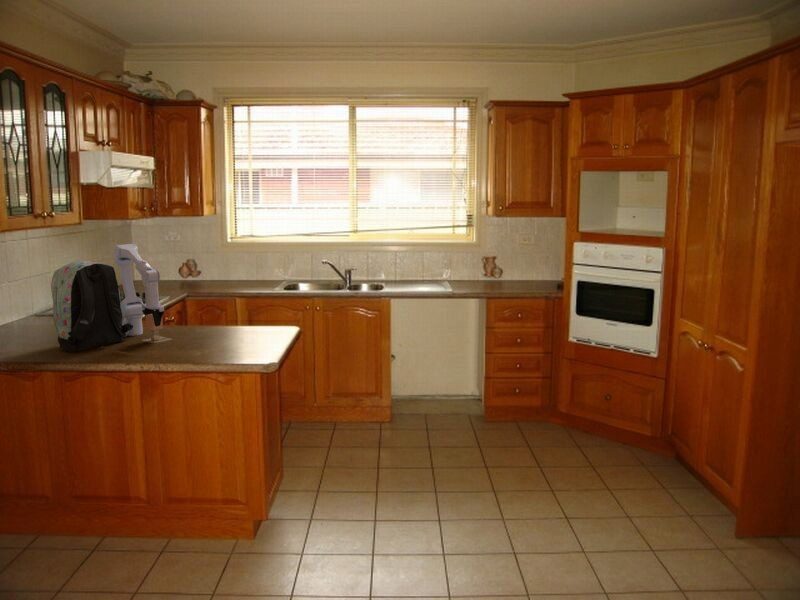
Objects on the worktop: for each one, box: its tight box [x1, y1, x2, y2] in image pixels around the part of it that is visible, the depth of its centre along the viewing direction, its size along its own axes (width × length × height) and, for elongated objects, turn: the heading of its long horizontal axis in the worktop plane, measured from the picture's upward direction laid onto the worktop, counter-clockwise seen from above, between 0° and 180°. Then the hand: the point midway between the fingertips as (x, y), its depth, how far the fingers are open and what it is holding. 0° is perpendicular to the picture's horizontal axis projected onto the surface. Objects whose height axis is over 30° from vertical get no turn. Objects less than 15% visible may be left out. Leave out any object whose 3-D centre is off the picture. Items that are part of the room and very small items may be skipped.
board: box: [141, 335, 173, 344], centre depth 307 cm, size 10×10×1 cm
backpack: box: [50, 259, 133, 353], centre depth 297 cm, size 32×24×39 cm
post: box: [150, 329, 160, 341], centre depth 306 cm, size 3×3×5 cm
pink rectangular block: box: [145, 314, 164, 330], centre depth 305 cm, size 5×5×7 cm
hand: (154, 325), depth 305 cm, fingers closed on pink rectangular block, 5 cm apart
